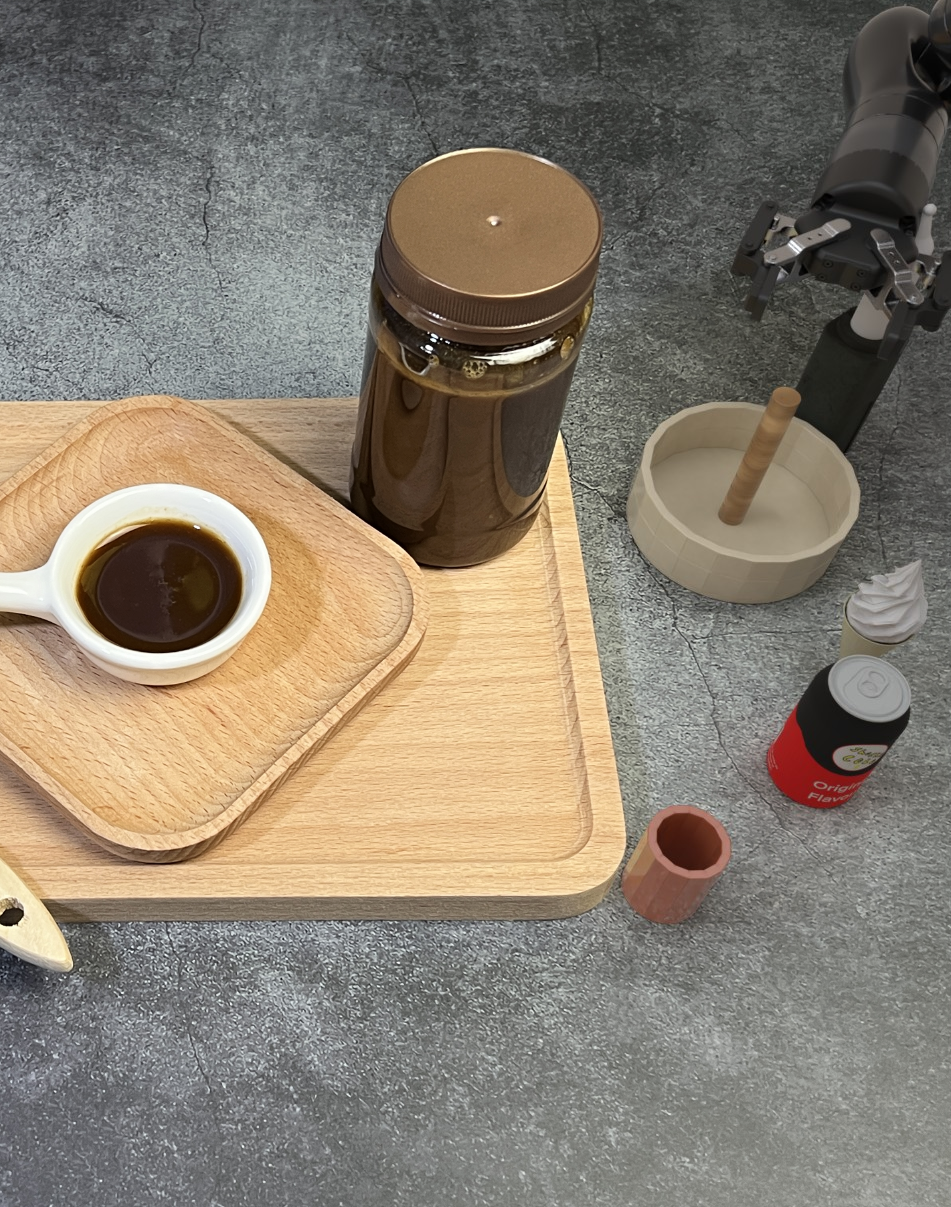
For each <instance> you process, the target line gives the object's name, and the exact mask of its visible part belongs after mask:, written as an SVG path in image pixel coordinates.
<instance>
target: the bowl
mask: <svg viewBox="0 0 951 1207" xmlns="http://www.w3.org/2000/svg"><path fill="white" fill-rule="evenodd" d="M766 407H767V405H766V406H765V405H761V404H756V403H752V402H747V401H711V402H707V403H703V404H698V405H695V406H691V407H686V408H683V409H681V410H680V411H678V412H676V413H675V414H674V415H672V416H671V417H669V418H667V419H666V420H663V421H662V422H661V423H659V424H658V426H657V427H656V429H655V430H654V431H653V432H652V433H651V435H650V436H649V437H648V439H647V441H645V445H643V446H644V447H643V449H642V452H641V454H640V457H639V459H638V460H639V461H638V463H637V465H636V468H635V472H634V474H633V477H632V479H631V482H630V486H629V490H628V494H627V497H626V503H625V504H626V505H625V507H626V508H625V514H626V522H627V526H628V528H629V532H630V534H631V537H632V539H633V541H634V542H635V544H636V546H637V548H638V549H639V551H640V552H641V553H642V555H643V557H645V558H646V560H648V562H649V563H650V564H651V565H652V566H653V567H654V568H656V569H657V571H659V572H660V573H661V574H662V575H664V576H666V577H667V579H669V580H671V581H672V582H674V583H676V584H677V585H679V586H681V587H683V588H684V589H687V590H689V591H691V592H693V593H695V594H698V595H701V596H703V597H706V598H710V599H713V600H718V601H722V602H727V603H734V604H745V605H746V604H747V605H749V604H751V605H755V604H756V605H757V604H768V603H774V602H779V601H782V600H785V599H789V598H792V597H794V596H796V595H798V594H801V593H803V592H804V591H806V590H808V589H809V588H810V587H812V586H813V585H815V583H816V582H818V581H819V580H820V579H821V578H822V577H823V576H824V575H825V572H826V571H827V570H828V569H829V566H830V565H831V564H832V561H833V560H834V559H835V557H836V555H837V554H838V552H839V550H840V548H841V547H842V545H843V544H844V542H845V540H846V538H847V537H848V535H849V534H850V531H851V530H852V528H853V526H854V525H855V523H856V521H857V519H858V518H859V512H860V511H859V510H860V502H861V488H860V485H859V481H858V479H857V476H856V473H855V469H854V467H853V465H852V464H851V462H850V461H849V460H848V459H847V458H846V456H845V454H843V453H842V452H841V451H840V450H839V448H838V447H837V446H836V444H835V443H834V442H833V441H831V440H830V439H829V438H827V437H826V436H825V435H823V434H822V433H821V432H820V431H818V430H817V429H816V428H814V427H813V426H812V425H810V424H809V423H807V422H805V421H803V420H801V419H799V418H796V417H794V416H793V418H792V420H791V422H790V424H789V427H788V429H787V431H786V433H785V435H784V437H783V439H782V441H781V443H780V445H779V447H778V449H777V451H776V453H775V455H774V457H773V460H772V462H771V464H770V466H769V468H768V470H767V472H766V474H765V476H764V478H763V480H762V482H761V484H760V486H759V488H758V491H757V493H756V495H755V497H754V499H753V501H752V503H751V505H750V507H749V509H748V511H747V513H746V515H745V517H744V519H743V521H742V522H741V523H740V524H738V525H728V524H725V523H723V522H722V521H721V520H720V519H719V516H718V512H719V509H720V507H721V505H722V503H723V501H724V498H725V496H726V494H727V492H728V490H729V487H730V485H731V483H732V481H733V479H734V477H735V474H736V472H737V470H738V468H739V466H740V463H741V461H742V459H743V457H744V455H745V453H746V450H747V448H748V446H749V444H750V442H751V439H752V437H753V435H754V433H755V431H756V429H757V426H758V424H759V422H760V420H761V418H762V415H763V413H764V411H765V409H766Z"/></svg>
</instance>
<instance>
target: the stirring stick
mask: <svg viewBox="0 0 951 1207" xmlns="http://www.w3.org/2000/svg"><path fill="white" fill-rule="evenodd" d="M800 402H801V396H800V394H799V393H798V392H797V391H796V390H795V388H792V387H788V386H779V387H777V388H775V389H774V390H773V392H772V394H771V396H770V398H769V400H768V402H767V404H766V409H765V411H764V413H763V415H762V418H761V420H760V422H759V424H758V426H757V429H756V431H755V433H754V435H753V437H752V439H751V442H750V444H749V446H748V448H747V450H746V453H745V455H744V457H743V459H742V461H741V463H740V466H739V468H738V470H737V472H736V474H735V477H734V479H733V481H732V483H731V485H730V487H729V490H728V492H727V494H726V496H725V498H724V501H723V503H722V505H721V507H720V509H719V512H718V516H719V519H720V520H721V521H722V522H723V523H725V524H728V525H738V524H740V523H741V522H742V521H743V519H744V517H745V515H746V513H747V511H748V509H749V507H750V505H751V503H752V501H753V499H754V497H755V495H756V493H757V491H758V488H759V486H760V484H761V482H762V480H763V478H764V476H765V474H766V472H767V470H768V468H769V466H770V464H771V462H772V460H773V457H774V455H775V453H776V451H777V449H778V447H779V445H780V443H781V441H782V439H783V437H784V435H785V433H786V431H787V429H788V427H789V424H790V422H791V420H792V418H793V416H794V414H795V412H796V410H797V408H798V406H799V404H800Z"/></svg>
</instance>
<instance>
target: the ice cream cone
mask: <svg viewBox="0 0 951 1207" xmlns="http://www.w3.org/2000/svg"><path fill="white" fill-rule="evenodd" d="M922 562H923V559H922V558H919V559H917V560H915V561H913V562H911V563H909V564H907V565H905V566H902V567H895V568H894V572H892V573H890V572H889V573H884V575H882V574H874V575H872V576H871V577H870V579H871V581H872V584H871V583H866V582H861V583H858V585H857V586H858V589H856V590H854V591H853V592H851V593H850V594H849V595H848V596H846V598H845V600H844V602H843V605H842V606H843V607H842V613H843V620H842V627H841V634H840V642H839V643H840V644H839V652H838V653H839V654H838V660H837V662H838V661H839V660H841V659H842V658H845V657H847V656H851V655H869V656H873V657H877V658H880V657H881V656H883V655H885V654H886V653H887V654H888V653H889V652H891V651H892V650H893V649H895V648H896V647H898V646H901V645H904V644H906V643H908V642H910V641H911V640H912V639H913V638H914V637H915V636H916V634H918V633H920V631H921V628H922V627H923V626H924V624H926V620H927V615H928V614H927V613H928V608H929V602H928V600H927V599H926V597H925V592H926V591H925V587H924V586H925V585H924V584H925V581H924V578H923V575H922V573H923V572H922Z"/></svg>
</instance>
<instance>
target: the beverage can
mask: <svg viewBox="0 0 951 1207" xmlns="http://www.w3.org/2000/svg"><path fill="white" fill-rule="evenodd" d="M911 702H912V690H911V686H910V684H909V682H908V680H907V679H906V677H905V676H904V674H903V673H902V672H901V671H900V670H899V669H898V668H897V667H896V666H894V665H893V664H891V663H889V662H888V661H886V660H884V659H882V658H880V657H878V658H877V657H873V656H869V655H851V656H847V657H845V658H842V659H841V660H839V661H838V660H837V661H836V662H833V663H831V664H828V665H827V666H825V667H823V668H822V669H820V670H819V671H818V672H817V673H816V674H815V675H814V676H813V678H812V680H811V681H810V683H809V685H808V686H807V688H806V689H805V691H804V692H803V693H802V696H801V697H800V699H799V700H798V702H797V703H796V705H795V706H794V708H793V709H792V711H791V712H790V714H789V716H788V717H787V719H785V720H786V721H785V722H784V723H783V725H782V727H781V728H780V730H779V731H778V733H777V734H776V736H775V737H774V739H773V741H772V742H771V743H770V745H769V747H768V750H767V754H766V766H767V771H768V773H769V776H770V778H771V780H772V782H773V783H774V784H775V785H776V787H777V788H778V790H780V791H781V792H782V793H783V794H784V795H786V796H787V797H788V798H790V799H791V800H793V801H795V802H797V803H799V804H801V805H804V806H807V807H812V808H818V809H828V808H834V807H838V806H840V805H843V804H844V803H846V802H848V801H849V800H850V799H851V798H852V797H853V796H854V795H855V794H856V792H857V791H858V790H859V789H860V788H861V786H862V785H863V784H864V782H865V781H866V780H867V779H868V777H869V776H870V775H871V773H872V772H873V771H874V770H875V768H877V766H878V764H879V763H880V762H881V761H882V759H883V758H884V757H885V755H886V754H887V753H888V752H889V751H890V749H891V748H892V747H893V745H894V744H895V742H896V741H897V740H898V739H899V738H900V737H901V735H902V734H903V733H904V732H905V730H906V729H907V727H908V726H909V722H910V717H911Z"/></svg>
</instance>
